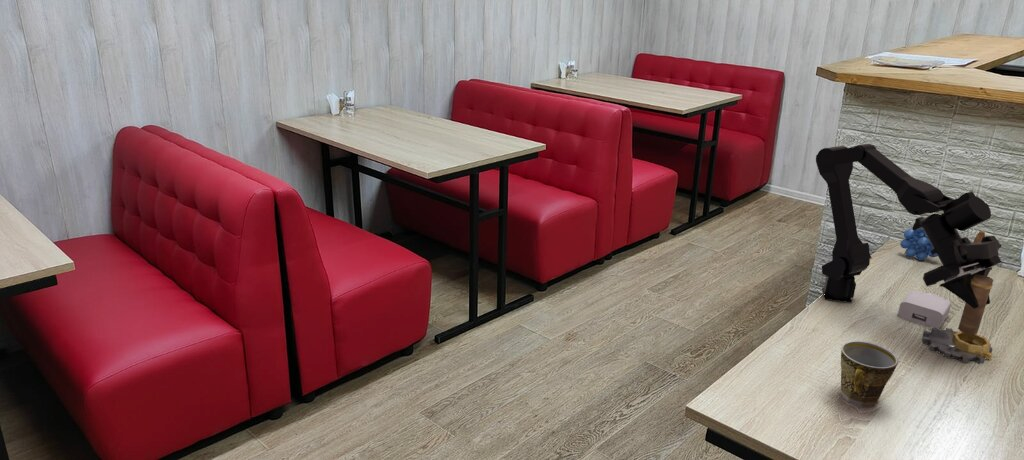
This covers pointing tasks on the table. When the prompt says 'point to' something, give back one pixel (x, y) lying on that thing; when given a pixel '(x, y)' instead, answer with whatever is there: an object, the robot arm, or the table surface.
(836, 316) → the table surface
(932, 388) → the table surface
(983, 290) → the peg
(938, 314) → the charger
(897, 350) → the table surface
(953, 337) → the sprocket
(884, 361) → the ceramic cup
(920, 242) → the grapes
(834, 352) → the table surface
